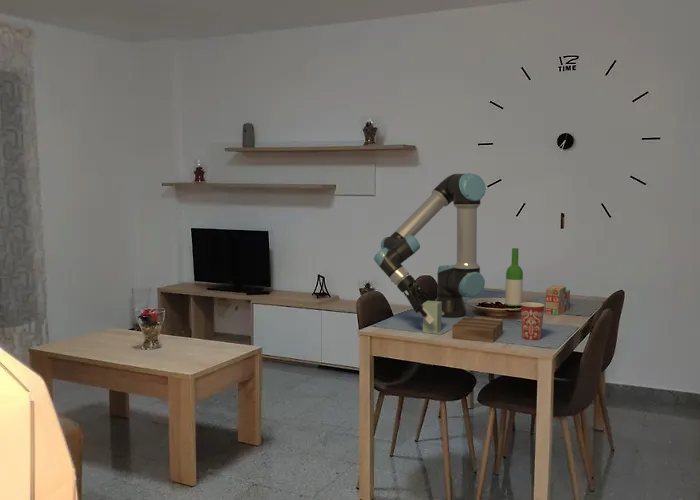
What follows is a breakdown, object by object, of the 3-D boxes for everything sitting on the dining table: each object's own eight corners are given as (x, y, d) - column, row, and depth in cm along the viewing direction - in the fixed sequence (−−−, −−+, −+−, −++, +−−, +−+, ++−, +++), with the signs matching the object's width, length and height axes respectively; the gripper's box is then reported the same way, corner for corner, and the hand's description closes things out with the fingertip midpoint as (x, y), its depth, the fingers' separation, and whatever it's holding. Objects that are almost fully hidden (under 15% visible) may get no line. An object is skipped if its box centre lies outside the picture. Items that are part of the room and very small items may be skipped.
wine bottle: (501, 310, 314) (503, 248, 311) (511, 308, 319) (513, 247, 316) (515, 313, 308) (517, 249, 305) (524, 311, 313) (527, 248, 310)
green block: (427, 328, 274) (427, 300, 272) (441, 330, 271) (441, 301, 270) (422, 331, 268) (423, 302, 267) (436, 333, 266) (437, 304, 265)
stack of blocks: (556, 307, 325) (557, 282, 324) (569, 308, 322) (570, 283, 320) (544, 314, 307) (545, 288, 306) (558, 315, 304) (559, 289, 302)
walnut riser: (463, 329, 273) (464, 317, 273) (502, 333, 267) (502, 320, 266) (452, 338, 257) (452, 325, 256) (493, 342, 250) (493, 329, 250)
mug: (542, 341, 253) (543, 307, 251) (518, 339, 256) (519, 305, 254) (544, 334, 264) (546, 301, 263) (521, 332, 268) (522, 300, 266)
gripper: (406, 281, 286) (439, 319, 281) (386, 290, 263) (421, 330, 258) (418, 270, 283) (451, 307, 278) (398, 277, 260) (434, 318, 256)
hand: (437, 318), depth 268 cm, fingers open, 13 cm apart
